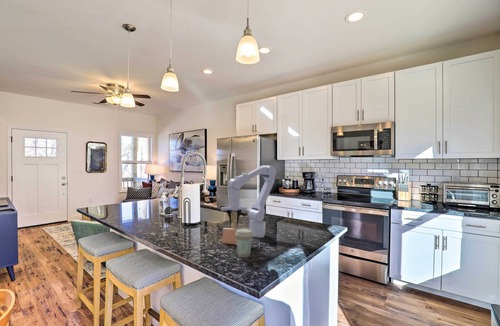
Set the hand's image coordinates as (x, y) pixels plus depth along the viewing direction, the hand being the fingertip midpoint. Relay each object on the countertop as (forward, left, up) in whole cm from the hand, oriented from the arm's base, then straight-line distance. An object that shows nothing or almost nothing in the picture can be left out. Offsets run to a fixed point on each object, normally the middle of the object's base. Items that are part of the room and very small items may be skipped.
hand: (234, 223), depth 139 cm
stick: (0, 0, -4) cm, 4 cm away
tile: (0, +6, -10) cm, 11 cm away
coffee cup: (-12, +20, -10) cm, 25 cm away
